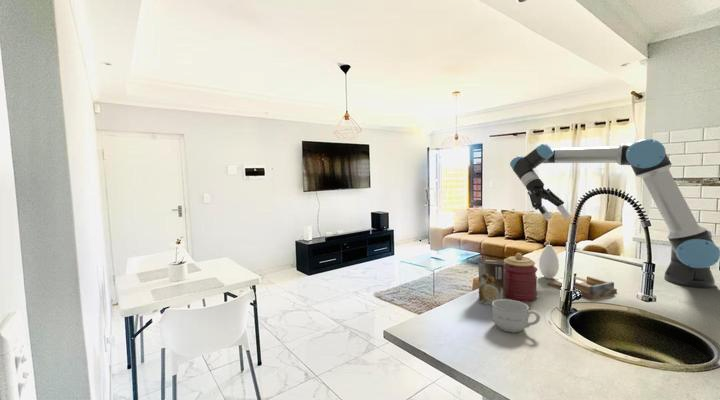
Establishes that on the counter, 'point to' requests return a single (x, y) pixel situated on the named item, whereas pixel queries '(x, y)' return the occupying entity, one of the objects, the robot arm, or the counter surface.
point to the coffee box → (491, 280)
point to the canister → (520, 278)
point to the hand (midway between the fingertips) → (559, 218)
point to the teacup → (512, 315)
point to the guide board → (589, 287)
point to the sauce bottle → (548, 262)
